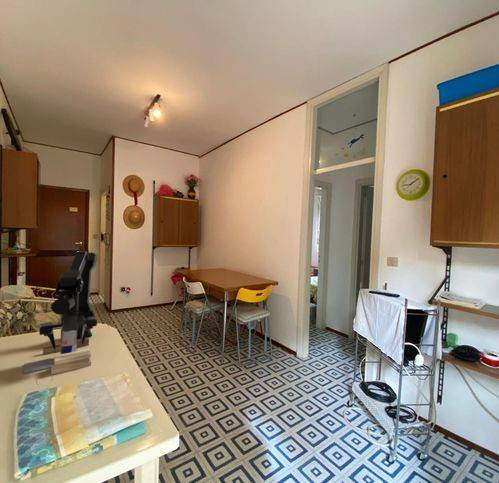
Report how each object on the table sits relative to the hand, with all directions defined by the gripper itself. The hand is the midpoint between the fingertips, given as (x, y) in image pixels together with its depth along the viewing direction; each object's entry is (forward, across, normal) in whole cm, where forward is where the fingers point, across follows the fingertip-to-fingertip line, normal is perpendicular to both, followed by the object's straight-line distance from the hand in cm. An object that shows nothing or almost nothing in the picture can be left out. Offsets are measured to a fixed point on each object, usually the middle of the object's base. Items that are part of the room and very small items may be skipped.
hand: (68, 346), depth 106 cm
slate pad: (+4, -9, -3) cm, 11 cm away
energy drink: (+4, 0, 0) cm, 5 cm away
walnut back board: (+4, 0, +8) cm, 9 cm away
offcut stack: (+4, 0, -10) cm, 11 cm away
